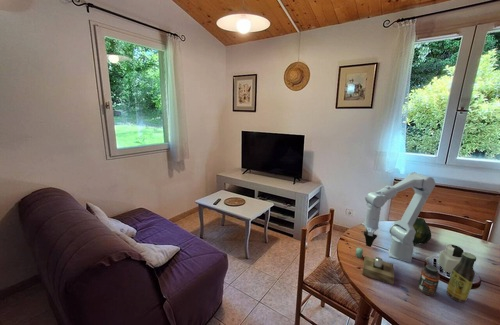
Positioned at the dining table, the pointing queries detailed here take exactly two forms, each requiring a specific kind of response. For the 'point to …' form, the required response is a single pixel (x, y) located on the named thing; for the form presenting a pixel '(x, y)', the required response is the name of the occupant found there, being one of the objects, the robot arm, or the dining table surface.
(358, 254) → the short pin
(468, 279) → the sauce bottle
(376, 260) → the long pin
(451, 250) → the medicine bottle
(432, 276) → the supplement bottle
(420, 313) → the dining table surface
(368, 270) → the hole block
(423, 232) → the squash
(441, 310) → the dining table surface
